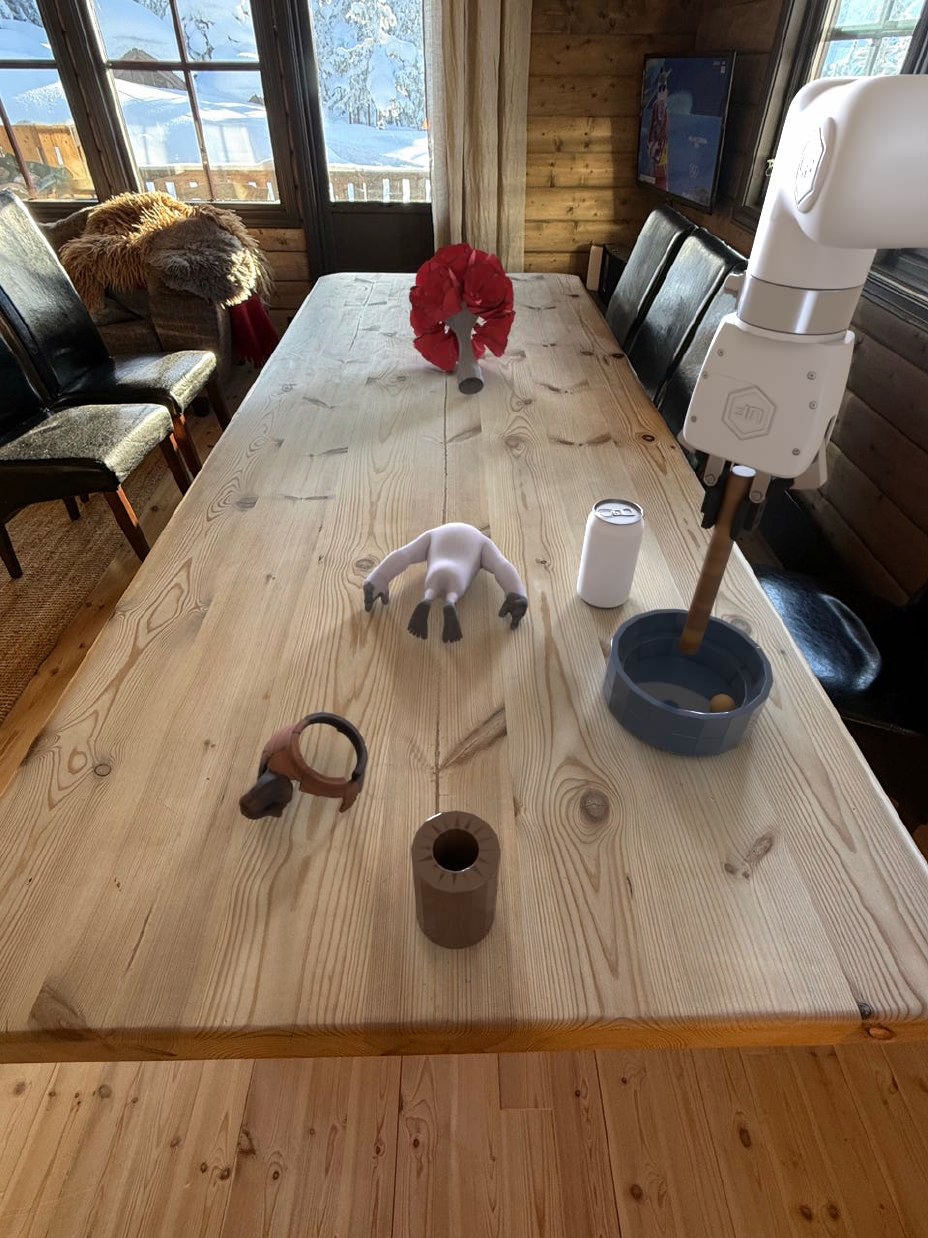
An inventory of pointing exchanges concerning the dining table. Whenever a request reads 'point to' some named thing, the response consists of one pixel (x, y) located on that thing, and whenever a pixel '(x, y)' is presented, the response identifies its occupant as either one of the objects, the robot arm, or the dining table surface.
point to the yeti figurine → (448, 576)
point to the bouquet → (461, 311)
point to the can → (610, 552)
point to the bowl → (685, 683)
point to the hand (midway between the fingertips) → (726, 527)
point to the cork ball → (722, 704)
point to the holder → (455, 878)
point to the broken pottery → (301, 770)
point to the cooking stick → (715, 559)
